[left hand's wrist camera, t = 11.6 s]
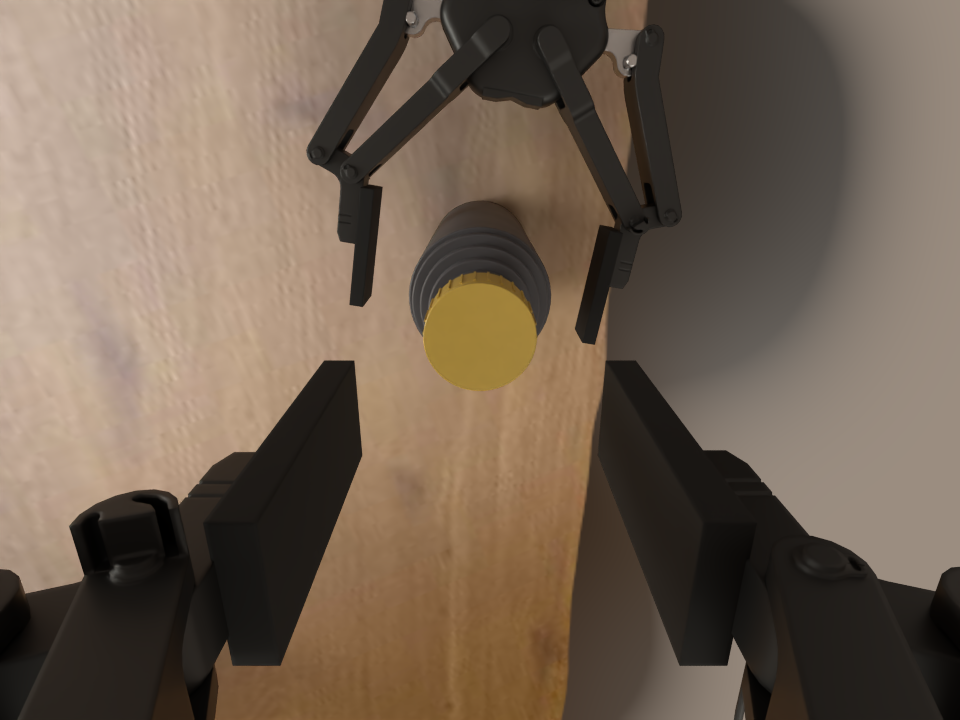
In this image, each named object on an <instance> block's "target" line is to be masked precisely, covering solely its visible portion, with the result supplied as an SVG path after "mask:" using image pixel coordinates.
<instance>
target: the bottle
mask: <svg viewBox="0 0 960 720" xmlns="http://www.w3.org/2000/svg"><path fill="white" fill-rule="evenodd" d="M474 271H476V273H487V272H490V274H494V275H498V276H500V275H502V277H503V278H505V279H507V280H508V281H510V282H514V285H515V286H516V287H517V288H518V289H519V290H520V291H521V290H522V291H523V293H524V296H525V298H526V300H527V302H528V301H529V302H530V305H531V308H532V311H533V312H532V313H533V314H534V317H535V320H536V323H537V325H535V326H536V332H537V337H538V335H539V334H540V332H541V330H542V329H543V327H544V325H545V322H546V320H547V317H548V314H549V309H550V304H551V289H550V283H549V278H548V275H547V272H546V270H545V267H544V265H543V263H542V262H541V260H540V258H539V256H538V254H537V253H536V251H535V249H534V247H533V246H532V244H531V242H530V240H529V239H528V237H527V235H526V233H525V231H524V230H523V228H522V226H521V224H520V223H519V221H518V220H517V219H516V217H515V216H514V215H513V214H512V213H511V212H509V211H508V210H507V209H505V208H504V207H502V206H500V205H498V204H495V203H492V202H487V201H473V202H468V203H465V204H462V205H460V206H458V207H456V208H455V209H453V210H452V211H451V212H449V213H448V214H447V215H446V216H445V217H444V219H443V220H442V221H441V223H440V225H439V226H438V228H437V230H436V232H435V233H434V235H433V237H432V239H431V240H430V242H429V244H428V246H427V247H426V249H425V251H424V253H423V255H422V256H421V258H420V260H419V262H418V264H417V265H416V267H415V270H414V272H413V275H412V278H411V283H410V290H409V304H410V309H411V314H412V317H413V320H414V322H415V325H416V327H417V329H418V330H419V332H420V333H421V335H422V337H423V330H424V326H425V322H424V319H425V316H426V313H427V310H429V306H430V303H431V300H432V298H433V299H434V298H435V296H436V295H437V294H438V291H439V289H440V288H441V289H442V288H443V287H444V286H445V285H446V284H447V283H449V280H451V281H452V280H454V279H455V278H457V277H460V276H461V274H463V275H466V274H470V273H474Z"/></svg>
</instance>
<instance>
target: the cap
mask: <svg viewBox="0 0 960 720" xmlns="http://www.w3.org/2000/svg"><path fill="white" fill-rule="evenodd" d="M532 312H533V311H532V308H531V305H530V302H529V301H528V302H527V300H526V298H525V296H524V293H523V291H522V290H521V291H520V290H519V289H518V288H517V287H516V286H515V285H514V282H510V281H508V280H507V279H505V278H503V277H502V275H500V276H498V275H494V274H490V272H487V273H476V271H474V273H470V274H466V275H463V274H461V276H460V277H457V278H455V279H454V280H452V281H451V280H449V283H447V284H446V285H445V286H444V287H443V288H442V289H441V288H440V289H439V291H438V294H437V295H436V296H435V298H434V299H433V298H432V300H431V303H430V306H429V310H427V313H426V316H425V319H424V322H425V326H424V330H423V343H424V348H425V352H426V355H427V357H428V360H429V362H430V363H431V365H432V366H433V368H434V369H435V370H436V372H437V373H438V374H439V375H440V376H441V377H443V378H444V379H445V380H447V381H448V382H450V383H451V384H453V385H455V386H458V387H460V388H463V389H467V390H473V391H487V390H493V389H497V388H500V387H502V386H505V385H507V384H509V383H511V382H512V381H513V380H515V379H516V378H517V377H519V376H520V375H521V374H522V373H523V372H524V370H525V369H526V368H527V366H528V365H529V363H530V362H531V360H532V357H533V355H534V352H535V348H536V343H537V332H536V326H535V325H537V323H536V320H535V317H534V314H533V313H532Z"/></svg>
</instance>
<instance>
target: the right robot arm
mask: <svg viewBox="0 0 960 720" xmlns="http://www.w3.org/2000/svg"><path fill="white" fill-rule="evenodd" d="M605 5H606V0H384V1H383V6H382V11H381V16H380V21H379V24H378V26H377V28H376V29H375V31H374V33H373V35H372V36H371V38H370V40H369V41H368V43H367V45H366V47H365V48H364V50H363V52H362V54H361V55H360V57H359V59H358V60H357V62H356V64H355V66H354V67H353V69H352V71H351V72H350V74H349V76H348V78H347V79H346V81H345V83H344V85H343V86H342V88H341V90H340V91H339V93H338V95H337V97H336V98H335V100H334V102H333V104H332V105H331V107H330V109H329V110H328V112H327V114H326V116H325V117H324V119H323V121H322V122H321V124H320V126H319V128H318V129H317V131H316V133H315V135H314V136H313V138H312V140H311V141H310V143H309V145H308V147H307V156H308V159H309V160H310V161H311V162H312V163H313V164H316V165H320V166H321V167H323V168H325V169H327V170H328V171H330V172H332V173H333V174H335V175H336V177H337V178H338V180H339V182H340V187H341V190H340V203H339V215H338V228H337V233H338V236H339V239H340V241H341V242H347V243H353V244H355V250H354V261H353V272H352V283H351V294H350V305H353V306H360V307H363V306H364V305H365V303H366V302H367V301H368V299H369V298H370V297H371V294H372V284H373V275H374V265H375V255H376V246H377V236H378V226H379V217H380V207H381V197H382V188H383V187H381V186H375V185H368V182H369V179H370V177H371V176H372V175H373V174H374V173H375V172H376V171H377V170H378V169H379V168H380V167H381V166H382V165H384V164H385V163H386V162H387V161H388V160H389V159H390V158H391V157H392V156H393V155H394V154H395V153H396V152H397V151H398V150H399V149H401V148H402V147H403V146H404V145H405V144H406V143H407V142H408V141H409V140H410V139H411V138H412V137H413V136H414V135H415V134H416V133H418V132H419V131H420V130H421V129H422V128H423V127H424V126H425V125H426V124H427V123H428V122H429V121H430V120H431V119H432V118H433V117H435V116H436V115H437V114H438V113H439V112H440V111H441V110H442V109H443V108H444V107H445V106H446V105H447V104H448V103H450V102H451V101H452V100H454V99H455V98H456V97H457V96H458V95H459V94H460V93H461V92H462V91H463V90H464V89H466V88H467V87H468V86H469V87H470V88H471V89H472V91H473V92H474V93H475V94H477V95H478V96H480V97H482V99H483V100H489V101H494V102H499V101H509V100H511V101H513V102H515V103H517V104H519V105H521V106H523V107H526V108H532V109H537V110H538V109H540V108H544V107H547V106H550V105H552V104H553V103H555V105H556V107H557V109H558V111H559V113H560V115H561V117H562V119H563V120H564V122H565V123H566V124H567V126H568V128H569V130H570V132H571V134H572V136H573V138H574V140H575V142H576V144H577V146H578V148H579V150H580V152H581V154H582V156H583V158H584V160H585V162H586V164H587V166H588V168H589V170H590V172H591V174H592V176H593V178H594V180H595V182H596V184H597V186H598V188H599V190H600V192H601V194H602V196H603V198H604V201H605V203H606V205H607V207H608V209H609V211H610V213H611V215H612V217H613V219H614V221H615V226H614V228H613V227H609V226H603V225H600V226H599V230H598V234H597V239H596V243H595V247H594V251H593V255H592V260H591V264H590V268H589V272H588V276H587V280H586V285H585V289H584V293H583V297H582V301H581V305H580V310H579V314H578V318H577V322H576V326H575V330H576V332H577V334H578V336H579V338H580V339H581V341H582V343H587V344H594V345H595V342H596V338H597V334H598V330H599V326H600V322H601V318H602V314H603V310H604V307H605V303H606V299H607V295H608V291H609V287H614V288H620V289H623V288H624V286H625V285H626V284H627V282H628V280H629V276H630V273H631V269H632V264H633V261H634V258H635V254H636V250H637V246H638V243H639V239H640V237H641V236H642V234H644V233H646V232H647V231H648V230H649V229H653V228H659V227H664V226H667V227H672V226H675V225H677V224H678V223H679V221H680V220H681V217H682V211H681V205H680V199H679V194H678V188H677V182H676V176H675V170H674V164H673V159H672V153H671V147H670V141H669V135H668V130H667V124H666V118H665V112H664V106H663V100H662V95H661V89H660V83H659V71H660V64H661V57H662V51H663V44H664V32H663V30H662V29H661V28H660V27H659V26H658V25H649V26H647V27H646V28H644V29H643V30H623V29H608V26H607V23H606V17H605ZM436 21H437V22H441V24H442V27H443V30H444V32H445V34H446V37H447V39H448V41H449V43H450V45H451V48H452V50H453V52H454V54H453V55H452V56H451V57H450V58H449V59H448V60H447V61H446V62H445V63H444V64H443V65H442V66H441V67H440V68H439V69H438V70H437V71H436V72H435V73H434V74H433V76H432V77H431V79H430V80H429V81H428V82H427V83H426V84H425V85H424V86H422V87H421V88H420V89H419V90H418V91H417V92H416V93H415V94H414V95H413V96H412V97H411V98H410V99H409V100H408V101H407V102H406V103H405V104H404V105H403V106H402V107H401V108H400V109H399V110H398V111H397V112H395V113H394V114H393V115H392V116H391V117H390V118H389V119H388V120H387V121H386V122H385V123H384V124H383V125H382V126H381V127H380V128H379V129H378V130H377V131H376V132H375V133H374V134H373V135H372V136H371V137H370V138H369V139H367V140H366V141H365V142H364V143H363V144H362V145H361V146H360V147H359V148H358V149H357V150H356V151H355V152H354V153H353V154H350V153H348V152H347V151H345V149H346V147H347V145H348V144H349V142H350V140H351V139H352V137H353V136H354V134H355V132H356V131H357V129H358V127H359V126H360V124H361V122H362V121H363V119H364V117H365V116H366V114H367V112H368V111H369V109H370V107H371V106H372V104H373V102H374V101H375V99H376V97H377V96H378V94H379V92H380V91H381V89H382V87H383V86H384V84H385V82H386V81H387V79H388V78H389V76H390V74H391V73H392V71H393V69H394V68H395V66H396V64H397V63H398V61H399V59H400V58H401V56H402V54H403V52H404V50H405V48H406V46H407V43H408V40H409V37H412V38H418V37H420V36H421V35H422V34H423V33H424V31H425V29H426V27H427V26H428V25H429V24H430V23H432V22H436ZM602 54H606V55H607V56H609V57H610V58H611V60H612V62H613V70H614V72H615V74H616V75H617V76H618V77H620V78H624V95H625V101H626V107H627V112H628V117H629V122H630V127H631V133H632V138H633V143H634V148H635V153H636V158H637V164H638V169H639V174H640V179H641V184H642V190H643V194H644V200H645V204H644V205H640V204H639V201H638V199H637V197H636V195H635V193H634V191H633V189H632V187H631V184H630V182H629V180H628V178H627V176H626V174H625V172H624V170H623V168H622V166H621V163H620V161H619V159H618V157H617V155H616V153H615V151H614V149H613V147H612V145H611V142H610V140H609V138H608V136H607V134H606V132H605V130H604V128H603V126H602V123H601V121H600V119H599V117H598V115H597V113H596V111H595V107H594V103H593V100H592V98H591V95H590V93H589V91H588V89H587V87H586V85H585V83H584V81H583V79H582V77H581V76H582V75H583V74H584V73H585V72H586V71H587V70H588V69H589V68H590V67H591V66H592V65H593V64H594V63H595V62H596V61H597V60H598V59H599V58H600V56H601V55H602Z"/></svg>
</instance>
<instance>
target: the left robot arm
mask: <svg viewBox="0 0 960 720" xmlns="http://www.w3.org/2000/svg"><path fill="white" fill-rule="evenodd" d="M361 457H362V446H361V434H360V423H359V411H358V399H357V387H356V375H355V363H354V361H324V362H323V363H322V364H321V366H320V367H319V368H318V370H317V371H316V372H315V374H314V375H313V376H312V378H311V379H310V380H309V382H308V383H307V384H306V386H305V387H304V388H303V390H302V391H301V392H300V394H299V395H298V396H297V398H296V399H295V400H294V402H293V403H292V404H291V406H290V407H289V408H288V410H287V411H286V412H285V414H284V415H283V416H282V418H281V419H280V420H279V422H278V423H277V424H276V426H275V427H274V428H273V430H272V431H271V432H270V434H269V435H268V436H267V438H266V439H265V440H264V442H263V443H262V444H261V446H260V447H259V448H258V450H257V451H256V452H234V453H232V454H231V455H229V456H227V457H226V458H224V459H223V460H221V461H219V462H218V463H216V464H215V465H213V466H212V467H211V468H210V469H209V471H208V472H207V473H206V474H205V475H204V476H203V478H202V479H201V480H200V481H199V482H200V483H199V484H197V485H196V486H195V487H194V488H193V489H192V490H191V492H190V493H189V494H188V498H185V499H184V500H183V501H182V502H181V503H180V505H179V504H178V500H177V498H176V497H175V496H173V495H172V494H171V493H169V492H166V491H160V490H155V489H154V490H140V491H133V492H129V493H125V494H121V495H117V496H114V497H112V498H109V499H107V500H104V501H102V502H100V503H97V504H95V505H94V506H92V507H91V508H89V509H87V510H86V511H84V512H83V513H81V514H80V515H79V516H78V517H77V518H76V519H75V520H74V521H73V522H72V524H71V525H70V526H69V527H70V530H71V534H72V537H73V540H74V543H75V547H76V550H77V553H78V556H79V559H80V563H81V566H82V569H83V572H84V577H83V579H82V581H81V582H78V583H74V584H69V585H65V586H60V587H55V588H50V589H46V590H41V591H36V592H32V593H27V594H25V592H24V589H23V586H22V583H21V581H20V578H19V576H18V575H16V574H15V573H13V572H12V571H10V570H3V569H0V720H215V711H216V703H217V694H218V680H217V674H216V669H215V665H214V663H215V661H216V659H217V657H218V656H219V654H220V652H221V650H222V648H223V646H224V644H225V642H226V640H227V641H228V645H229V650H230V655H231V660H232V665H233V666H280V665H281V663H282V660H283V657H284V655H285V652H286V650H287V647H288V645H289V642H290V639H291V637H292V634H293V632H294V629H295V627H296V624H297V622H298V619H299V616H300V614H301V611H302V609H303V606H304V604H305V601H306V598H307V596H308V593H309V591H310V588H311V586H312V583H313V580H314V578H315V575H316V573H317V570H318V568H319V565H320V562H321V560H322V557H323V555H324V552H325V550H326V547H327V544H328V542H329V539H330V537H331V534H332V532H333V529H334V527H335V524H336V521H337V519H338V516H339V514H340V511H341V509H342V506H343V503H344V501H345V498H346V496H347V493H348V491H349V488H350V485H351V483H352V480H353V478H354V475H355V473H356V470H357V467H358V465H359V462H360V460H361ZM598 457H599V460H600V462H601V465H602V467H603V470H604V473H605V475H606V478H607V480H608V483H609V485H610V488H611V491H612V493H613V496H614V498H615V501H616V503H617V506H618V508H619V511H620V514H621V516H622V519H623V521H624V524H625V527H626V529H627V532H628V534H629V537H630V539H631V542H632V544H633V547H634V550H635V552H636V555H637V557H638V560H639V562H640V565H641V568H642V570H643V573H644V575H645V578H646V580H647V583H648V586H649V588H650V591H651V593H652V596H653V598H654V601H655V604H656V606H657V609H658V611H659V614H660V616H661V619H662V621H663V624H664V627H665V629H666V632H667V634H668V637H669V639H670V642H671V645H672V647H673V650H674V652H675V655H676V657H677V660H678V663H679V665H680V666H727V665H728V660H729V655H730V650H731V645H732V641H733V637H734V639H735V641H736V643H737V645H738V647H739V649H740V651H741V653H742V655H743V656H744V658H745V660H746V665H745V669H744V674H743V678H742V683H741V687H740V692H739V696H738V701H737V705H736V710H735V716H734V720H742V719H743V715H744V711H745V718H746V720H960V567H952V568H950V569H948V570H947V571H945V572H944V573H943V574H942V575H941V578H940V581H939V583H938V586H937V589H936V591H931V590H926V589H921V588H917V587H912V586H907V585H902V584H898V583H893V582H888V581H884V580H881V579H878V578H877V576H876V574H875V573H874V572H873V570H872V569H871V568H870V567H869V565H868V564H867V562H865V561H864V560H863V559H861V558H860V557H859V556H857V555H856V554H855V553H853V552H852V551H851V550H849V549H847V548H844V547H842V546H840V545H838V544H836V543H834V542H832V541H828V540H825V539H821V538H818V537H814V536H809V535H808V533H807V532H806V531H805V530H804V529H803V528H802V526H801V525H800V524H799V523H798V522H797V521H796V519H795V518H794V517H793V516H792V515H791V514H790V512H789V511H788V510H787V509H786V508H785V507H784V505H783V504H782V503H781V502H780V501H779V500H778V499H777V497H776V496H773V495H772V492H771V490H770V489H769V488H768V487H767V486H766V485H765V483H764V482H761V479H760V478H759V476H758V475H757V474H756V473H755V472H754V471H753V469H752V468H751V467H750V466H749V465H748V464H747V463H746V462H744V461H742V460H741V459H739V458H737V457H736V456H734V455H733V454H731V453H729V452H728V451H726V450H702V448H701V447H700V446H699V444H698V443H697V442H696V440H695V439H694V438H693V436H692V435H691V434H690V432H689V431H688V430H687V428H686V427H685V426H684V424H683V423H682V422H681V420H680V419H679V418H678V416H677V415H676V414H675V412H674V411H673V410H672V408H671V407H670V406H669V404H668V403H667V402H666V400H665V399H664V398H663V396H662V395H661V394H660V392H659V391H658V390H657V388H656V387H655V386H654V384H653V383H652V382H651V380H650V379H649V378H648V376H647V375H646V374H645V372H644V371H643V370H642V368H641V367H640V366H639V364H638V363H637V362H636V361H606V363H605V375H604V387H603V399H602V411H601V423H600V435H599V446H598Z"/></svg>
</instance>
